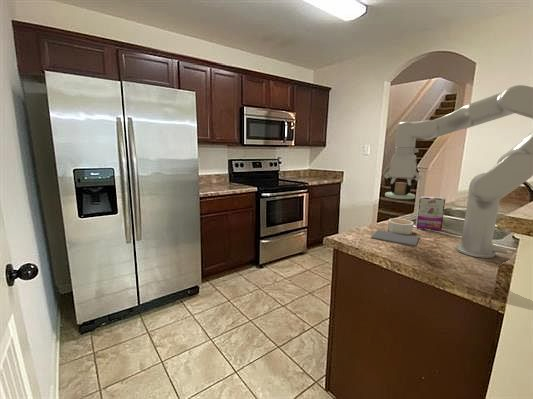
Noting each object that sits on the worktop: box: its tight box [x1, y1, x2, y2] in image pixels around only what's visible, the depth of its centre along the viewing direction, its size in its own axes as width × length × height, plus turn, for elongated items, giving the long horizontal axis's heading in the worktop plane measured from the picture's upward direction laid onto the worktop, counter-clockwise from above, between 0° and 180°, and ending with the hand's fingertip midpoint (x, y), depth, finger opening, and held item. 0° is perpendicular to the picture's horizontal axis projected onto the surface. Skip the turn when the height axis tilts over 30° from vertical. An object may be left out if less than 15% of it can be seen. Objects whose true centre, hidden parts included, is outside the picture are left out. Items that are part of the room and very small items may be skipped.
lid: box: [384, 181, 416, 200], centre depth 118 cm, size 12×12×6 cm
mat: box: [371, 229, 420, 248], centre depth 122 cm, size 18×13×1 cm
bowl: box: [387, 218, 415, 235], centre depth 132 cm, size 11×11×5 cm
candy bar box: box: [415, 195, 446, 232], centre depth 135 cm, size 11×5×16 cm, turn 68°
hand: (400, 192), depth 118 cm, fingers closed on lid, 5 cm apart
